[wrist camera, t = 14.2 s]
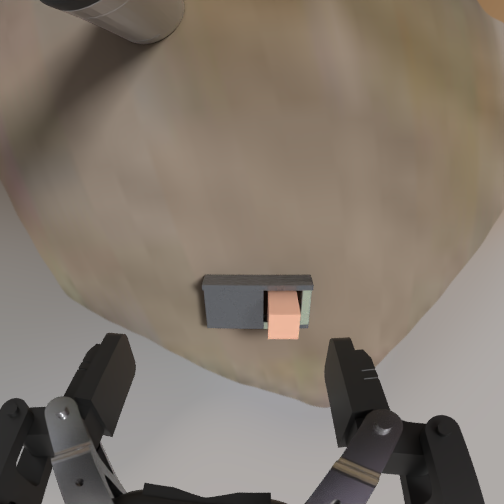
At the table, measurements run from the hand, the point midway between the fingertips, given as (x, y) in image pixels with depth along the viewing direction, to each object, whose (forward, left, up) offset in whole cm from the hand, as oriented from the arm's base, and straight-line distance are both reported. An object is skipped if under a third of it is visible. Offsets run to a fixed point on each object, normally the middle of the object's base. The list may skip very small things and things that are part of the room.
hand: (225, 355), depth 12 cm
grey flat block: (+17, +1, -31) cm, 35 cm away
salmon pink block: (+17, +4, -31) cm, 36 cm away
